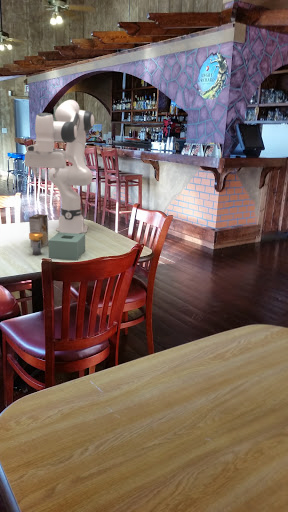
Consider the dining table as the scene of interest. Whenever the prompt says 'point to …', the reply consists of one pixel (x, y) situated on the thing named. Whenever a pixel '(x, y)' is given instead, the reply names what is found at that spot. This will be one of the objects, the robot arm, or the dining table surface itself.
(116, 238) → the dining table surface
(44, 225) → the coffee box
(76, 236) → the block
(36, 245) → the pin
